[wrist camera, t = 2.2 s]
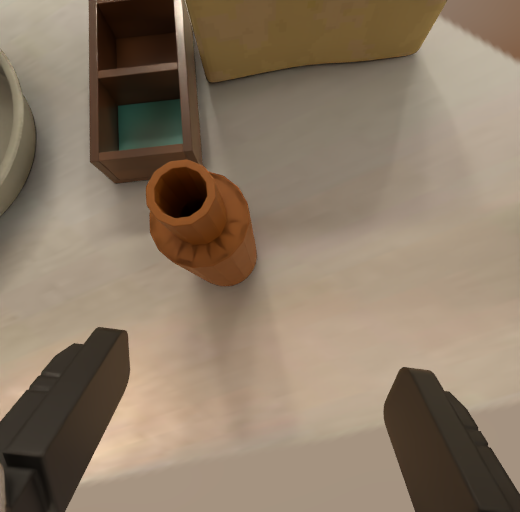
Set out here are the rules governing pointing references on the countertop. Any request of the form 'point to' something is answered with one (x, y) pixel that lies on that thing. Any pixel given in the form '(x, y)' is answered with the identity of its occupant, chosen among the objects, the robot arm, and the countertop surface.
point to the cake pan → (14, 135)
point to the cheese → (305, 32)
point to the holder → (141, 87)
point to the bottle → (201, 222)
